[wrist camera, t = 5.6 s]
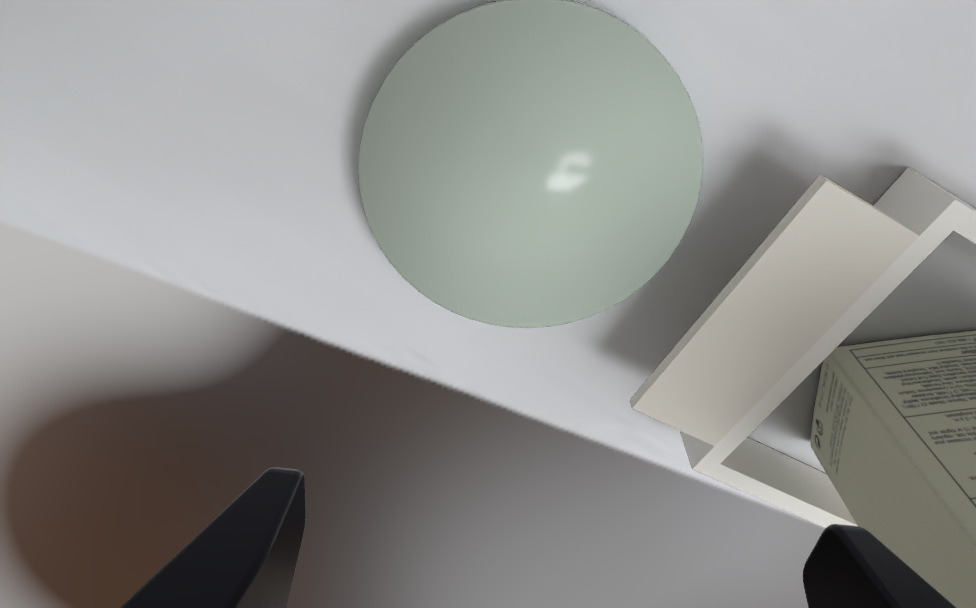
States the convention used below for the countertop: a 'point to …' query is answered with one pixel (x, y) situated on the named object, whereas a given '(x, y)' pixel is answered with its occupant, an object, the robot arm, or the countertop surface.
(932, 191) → the white rectangular tray
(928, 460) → the skincare box
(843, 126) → the countertop surface
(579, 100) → the coaster
